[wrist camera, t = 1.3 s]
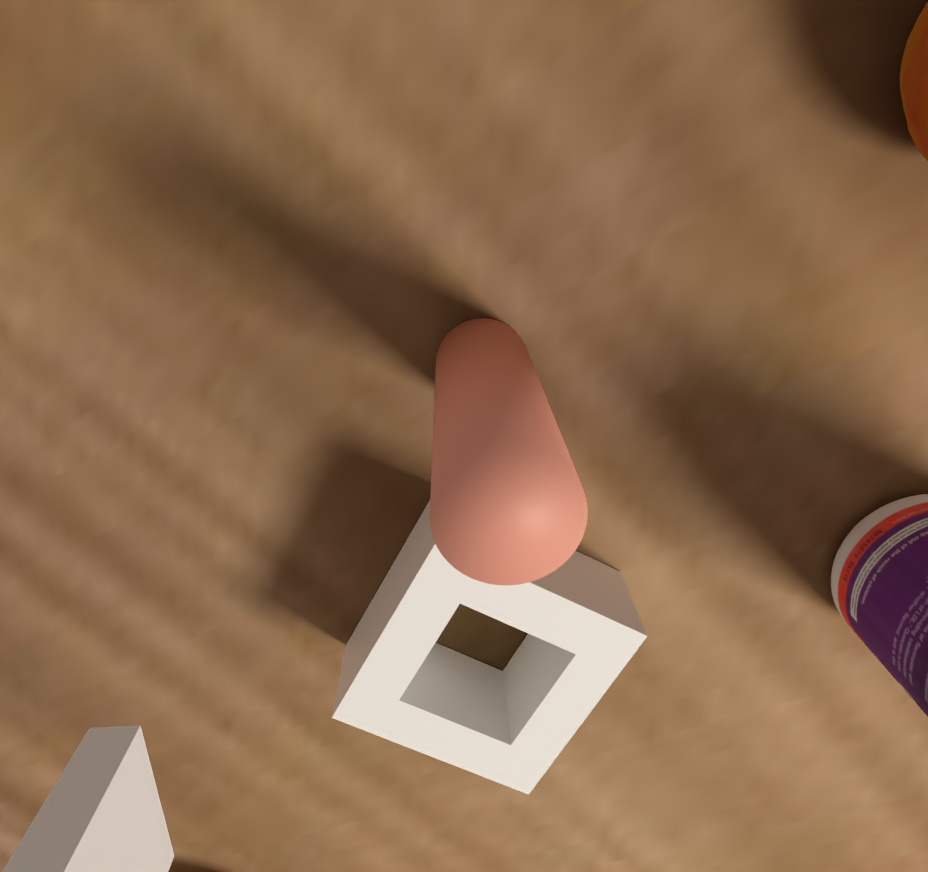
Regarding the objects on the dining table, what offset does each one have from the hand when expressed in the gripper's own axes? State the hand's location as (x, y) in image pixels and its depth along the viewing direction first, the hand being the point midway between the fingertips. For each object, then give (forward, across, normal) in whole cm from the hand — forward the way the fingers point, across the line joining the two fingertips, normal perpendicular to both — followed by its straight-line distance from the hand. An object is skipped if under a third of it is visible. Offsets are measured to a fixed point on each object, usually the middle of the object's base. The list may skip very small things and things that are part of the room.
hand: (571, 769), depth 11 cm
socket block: (+22, -1, -12) cm, 25 cm away
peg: (+22, 0, 0) cm, 22 cm away
